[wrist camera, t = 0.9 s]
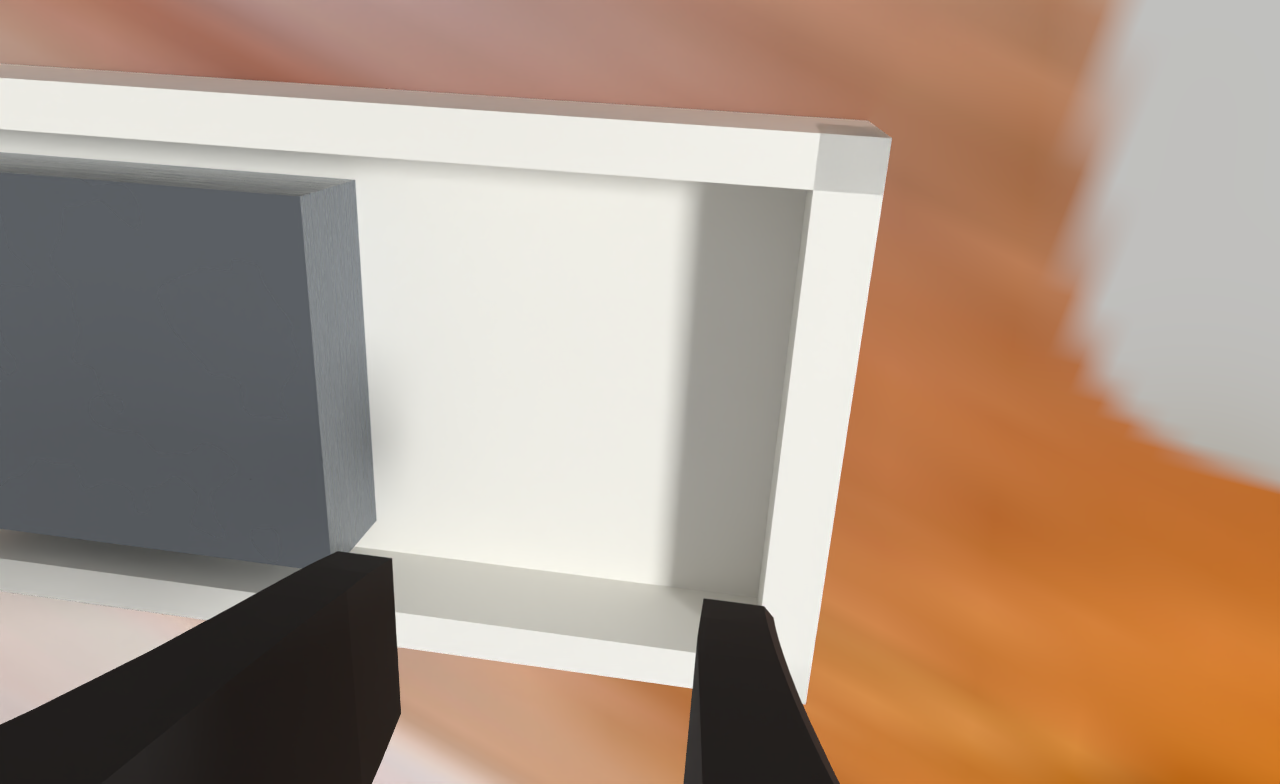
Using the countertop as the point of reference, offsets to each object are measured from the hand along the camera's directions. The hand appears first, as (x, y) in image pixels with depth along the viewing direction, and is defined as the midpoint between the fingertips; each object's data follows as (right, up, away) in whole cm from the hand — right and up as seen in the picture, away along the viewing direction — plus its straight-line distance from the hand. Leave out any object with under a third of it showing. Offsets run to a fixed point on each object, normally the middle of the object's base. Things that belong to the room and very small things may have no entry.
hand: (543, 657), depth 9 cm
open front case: (-4, +4, +9) cm, 11 cm away
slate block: (-8, +4, +8) cm, 12 cm away
